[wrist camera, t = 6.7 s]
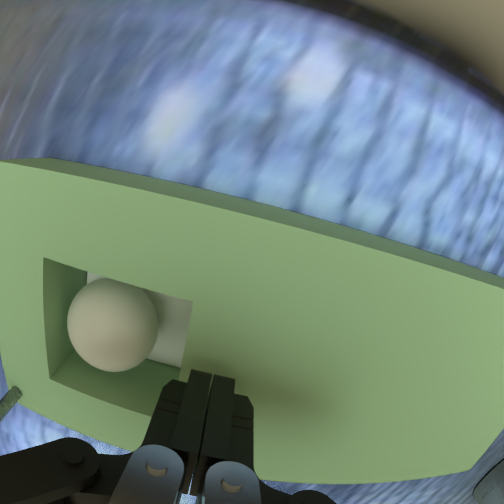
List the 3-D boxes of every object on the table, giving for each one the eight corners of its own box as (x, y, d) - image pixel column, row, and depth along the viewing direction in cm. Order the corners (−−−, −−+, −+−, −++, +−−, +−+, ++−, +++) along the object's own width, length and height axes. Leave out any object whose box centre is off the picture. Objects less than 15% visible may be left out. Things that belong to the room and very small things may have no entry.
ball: (68, 306, 9) (65, 261, 12) (74, 394, 10) (66, 338, 13) (177, 305, 12) (148, 264, 15) (166, 386, 13) (141, 336, 16)
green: (528, 287, 14) (568, 311, 10) (447, 434, 17) (469, 470, 14) (49, 157, 13) (-5, 160, 9) (44, 361, 16) (11, 399, 12)
